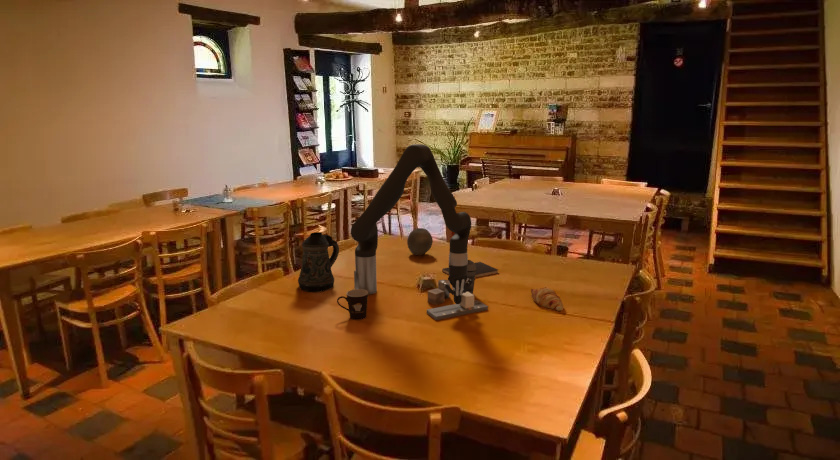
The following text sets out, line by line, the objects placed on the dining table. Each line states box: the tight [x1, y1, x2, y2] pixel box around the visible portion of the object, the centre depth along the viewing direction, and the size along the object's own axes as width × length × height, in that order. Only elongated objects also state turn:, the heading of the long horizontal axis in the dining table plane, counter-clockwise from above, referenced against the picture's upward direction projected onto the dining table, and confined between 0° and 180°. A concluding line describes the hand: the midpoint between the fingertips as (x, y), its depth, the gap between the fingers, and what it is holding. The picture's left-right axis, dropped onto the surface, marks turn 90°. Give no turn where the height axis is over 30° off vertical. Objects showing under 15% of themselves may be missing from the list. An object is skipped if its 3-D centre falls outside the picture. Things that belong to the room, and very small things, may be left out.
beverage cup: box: [466, 259, 477, 295], centre depth 231 cm, size 7×7×20 cm
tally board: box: [426, 299, 489, 321], centre depth 214 cm, size 24×8×2 cm, turn 116°
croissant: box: [530, 286, 564, 312], centre depth 222 cm, size 21×10×8 cm, turn 24°
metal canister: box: [437, 279, 451, 300], centre depth 229 cm, size 5×5×7 cm
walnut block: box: [427, 287, 445, 306], centre depth 224 cm, size 5×5×5 cm
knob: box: [459, 292, 475, 309], centre depth 215 cm, size 4×5×5 cm
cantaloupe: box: [406, 227, 434, 256], centre depth 291 cm, size 14×14×15 cm
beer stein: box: [297, 231, 340, 293], centre depth 242 cm, size 16×19×25 cm
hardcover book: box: [441, 261, 499, 278], centre depth 263 cm, size 16×23×2 cm
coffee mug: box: [336, 288, 369, 321], centre depth 208 cm, size 12×9×10 cm
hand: (457, 303), depth 213 cm, fingers closed
